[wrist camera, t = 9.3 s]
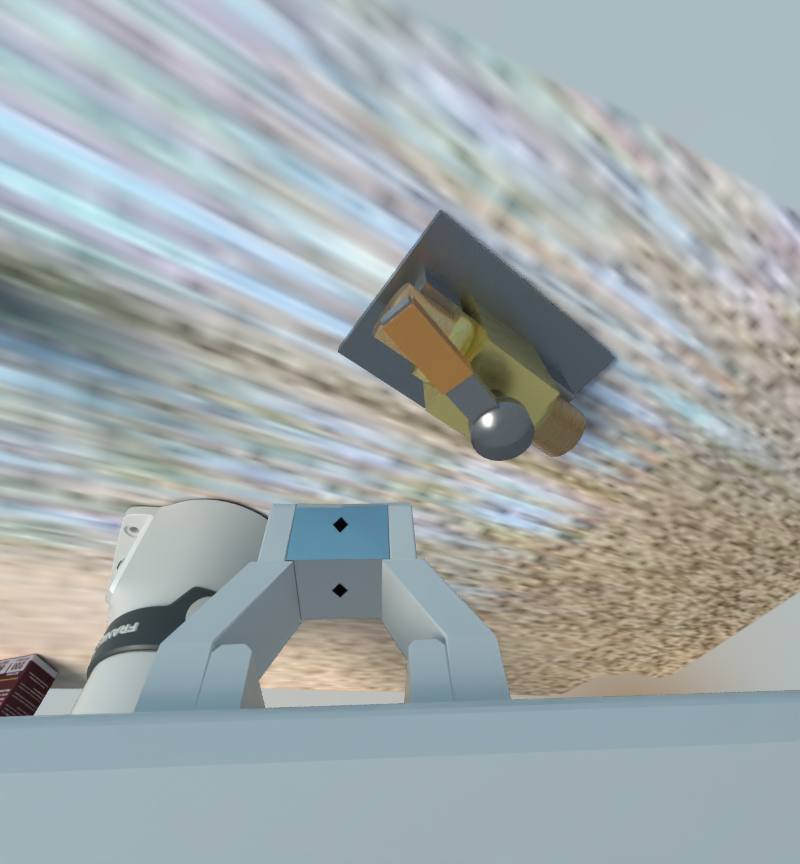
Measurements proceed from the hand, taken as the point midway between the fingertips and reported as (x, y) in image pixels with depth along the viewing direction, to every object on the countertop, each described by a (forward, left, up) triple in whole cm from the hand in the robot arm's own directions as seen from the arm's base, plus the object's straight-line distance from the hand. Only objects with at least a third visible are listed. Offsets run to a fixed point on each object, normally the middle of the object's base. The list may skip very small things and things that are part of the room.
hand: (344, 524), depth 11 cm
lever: (-1, -7, -16) cm, 18 cm away
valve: (-2, -11, -26) cm, 29 cm away
